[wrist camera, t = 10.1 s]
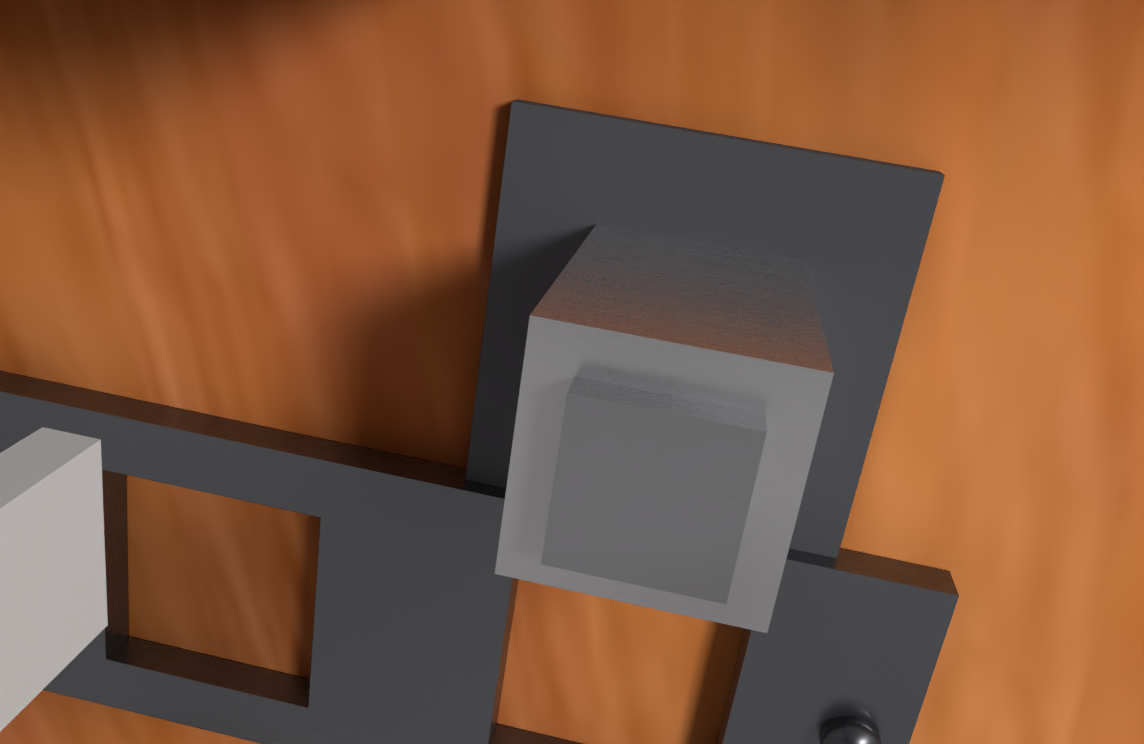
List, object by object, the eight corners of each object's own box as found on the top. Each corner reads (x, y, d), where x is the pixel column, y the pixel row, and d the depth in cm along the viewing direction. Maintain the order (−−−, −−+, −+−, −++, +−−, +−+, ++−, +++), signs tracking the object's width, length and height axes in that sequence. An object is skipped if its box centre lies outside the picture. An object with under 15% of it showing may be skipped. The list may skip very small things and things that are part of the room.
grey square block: (596, 224, 24) (519, 329, 15) (804, 260, 23) (838, 389, 15) (567, 413, 25) (484, 597, 17) (759, 451, 25) (768, 660, 17)
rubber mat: (517, 99, 24) (511, 101, 23) (940, 171, 23) (944, 175, 22) (471, 470, 27) (465, 479, 27) (834, 546, 26) (836, 558, 26)
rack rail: (-27, 365, 29) (-75, 386, 27) (949, 571, 26) (963, 609, 24) (-6, 648, 32) (-48, 683, 30) (854, 857, 29) (861, 907, 28)
